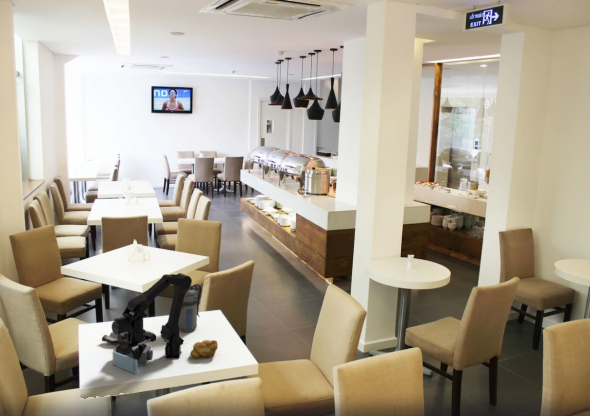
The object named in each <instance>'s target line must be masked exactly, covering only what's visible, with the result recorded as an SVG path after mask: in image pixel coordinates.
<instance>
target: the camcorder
mask: <svg viewBox="0 0 590 416" xmlns="http://www.w3.org/2000/svg"><path fill="white" fill-rule="evenodd" d="M144 330H145V332H144V333H146V332H150V333H153V334H155V333H154V332H152V331H150V330H146V329H144ZM144 333H143V334H144ZM117 335H118V334H117ZM117 335H115V334H114V333H113V331H112V332H111V333H110V334H109V335H108V334H104V335H103V336H102V338H101V341H102V342H106V343H108V344H110V345H120V344H122V343H125V344H130V342H127V340H123V341H121V340H118V338H117Z"/></svg>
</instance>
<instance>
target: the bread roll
mask: <svg viewBox="0 0 590 416" xmlns="http://www.w3.org/2000/svg"><path fill="white" fill-rule="evenodd" d="M218 347H219V346H218V341H217V340H215V339H214V340H208V339H204V340H202V341H197V342H195V343H194V344H193V347H192V350H191V351H190V354H189V355H190V357H191V358H193V359H201V358H203V359H204V358H205V359H206V358H208V359H209V358H211V357H213V356H214V355H215V354H216V351H217V350H218Z"/></svg>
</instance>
